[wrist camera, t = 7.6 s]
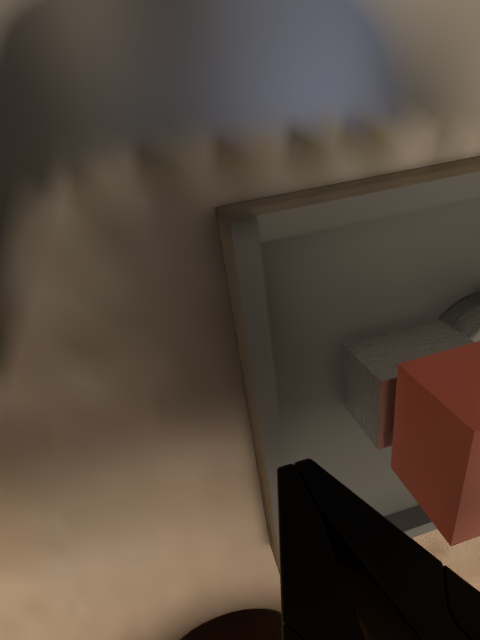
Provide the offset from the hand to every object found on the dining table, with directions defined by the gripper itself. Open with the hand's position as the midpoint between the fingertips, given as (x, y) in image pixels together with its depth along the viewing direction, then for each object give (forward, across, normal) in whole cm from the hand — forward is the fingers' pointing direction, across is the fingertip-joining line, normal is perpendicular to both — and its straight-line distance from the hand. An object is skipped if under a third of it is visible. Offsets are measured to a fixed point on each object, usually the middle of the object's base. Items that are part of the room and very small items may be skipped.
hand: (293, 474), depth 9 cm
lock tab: (+1, -4, 0) cm, 4 cm away
